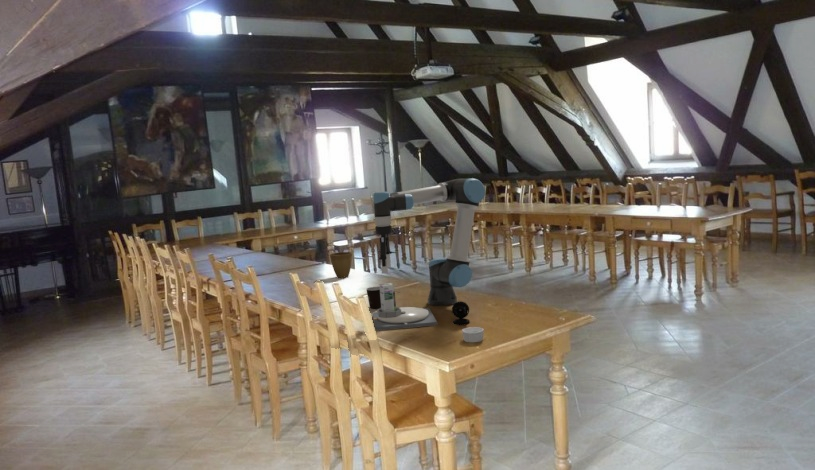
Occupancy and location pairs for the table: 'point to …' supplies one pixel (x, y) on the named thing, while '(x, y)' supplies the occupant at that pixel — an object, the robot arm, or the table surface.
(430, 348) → the table surface
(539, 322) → the table surface
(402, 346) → the table surface
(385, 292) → the syrup box
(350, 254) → the plant pot
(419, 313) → the grey round plate
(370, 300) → the black cup
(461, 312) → the webcam
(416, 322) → the base
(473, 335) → the ramekin
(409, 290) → the table surface
